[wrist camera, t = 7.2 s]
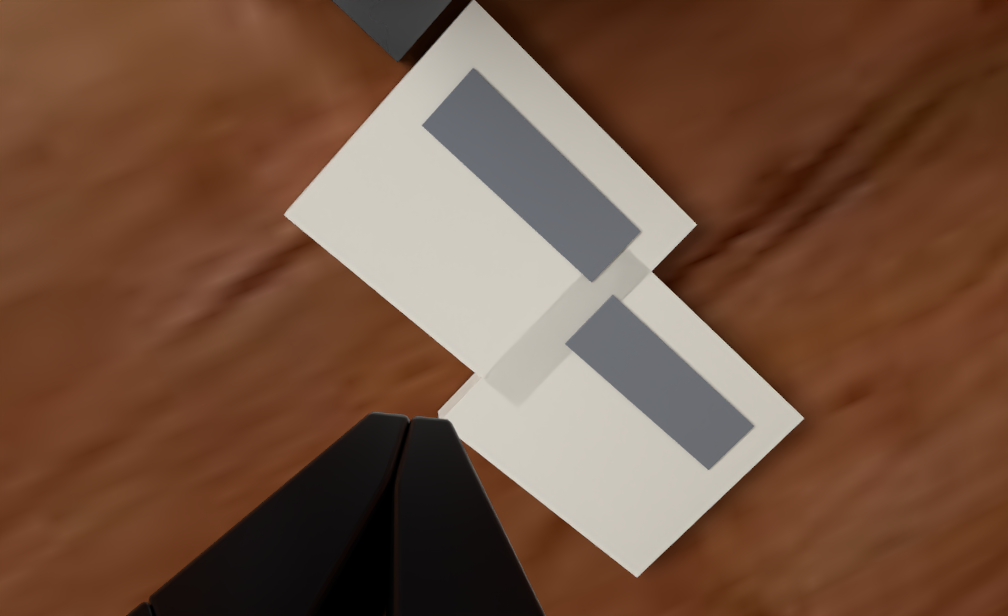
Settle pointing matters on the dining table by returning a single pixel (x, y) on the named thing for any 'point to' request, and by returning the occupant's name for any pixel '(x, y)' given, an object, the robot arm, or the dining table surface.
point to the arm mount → (393, 20)
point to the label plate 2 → (631, 424)
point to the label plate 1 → (490, 207)
